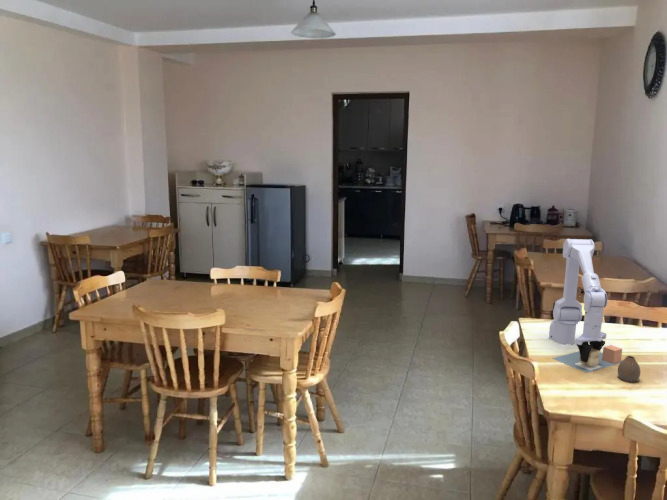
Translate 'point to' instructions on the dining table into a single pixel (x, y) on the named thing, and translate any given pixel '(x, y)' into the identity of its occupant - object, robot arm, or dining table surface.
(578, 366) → the build board
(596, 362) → the maple block
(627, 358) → the vase
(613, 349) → the terracotta block
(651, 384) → the dining table surface
